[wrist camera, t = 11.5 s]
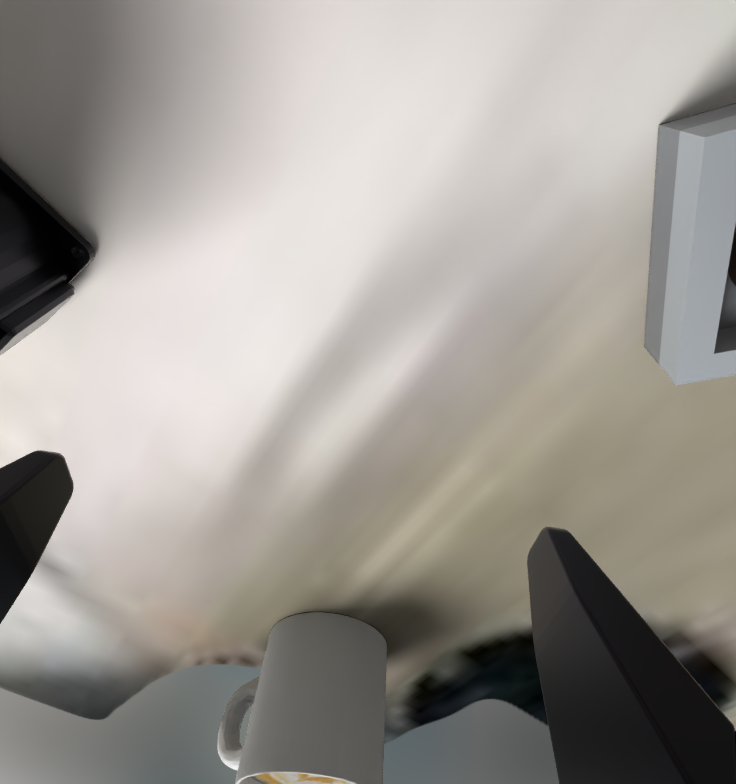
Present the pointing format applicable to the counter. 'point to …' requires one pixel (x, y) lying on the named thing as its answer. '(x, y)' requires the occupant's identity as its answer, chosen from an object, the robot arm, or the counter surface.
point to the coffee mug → (312, 706)
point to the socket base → (693, 248)
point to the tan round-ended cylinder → (733, 261)
